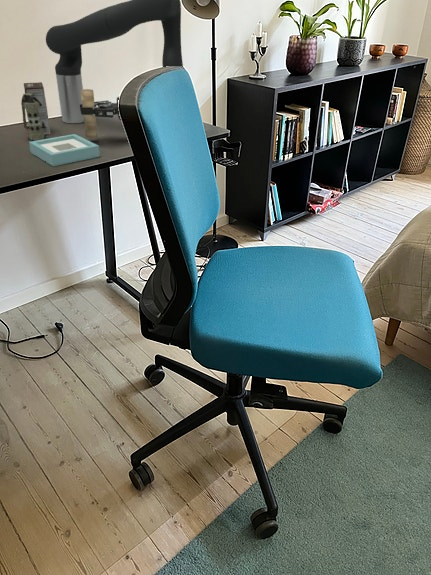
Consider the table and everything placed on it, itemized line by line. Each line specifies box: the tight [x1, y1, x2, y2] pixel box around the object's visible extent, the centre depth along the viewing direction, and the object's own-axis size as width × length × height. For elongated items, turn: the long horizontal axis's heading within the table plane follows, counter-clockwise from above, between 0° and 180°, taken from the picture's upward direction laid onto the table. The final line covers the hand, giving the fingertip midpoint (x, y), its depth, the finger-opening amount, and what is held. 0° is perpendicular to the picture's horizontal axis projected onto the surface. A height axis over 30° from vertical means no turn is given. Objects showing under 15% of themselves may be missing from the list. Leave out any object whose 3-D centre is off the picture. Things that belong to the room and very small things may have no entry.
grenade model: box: [20, 92, 46, 141], centre depth 161 cm, size 6×7×15 cm
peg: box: [81, 88, 98, 139], centre depth 158 cm, size 4×4×15 cm
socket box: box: [28, 133, 101, 167], centre depth 150 cm, size 16×16×4 cm
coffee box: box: [23, 81, 52, 136], centre depth 167 cm, size 9×6×16 cm
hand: (80, 109), depth 157 cm, fingers closed on peg, 4 cm apart
